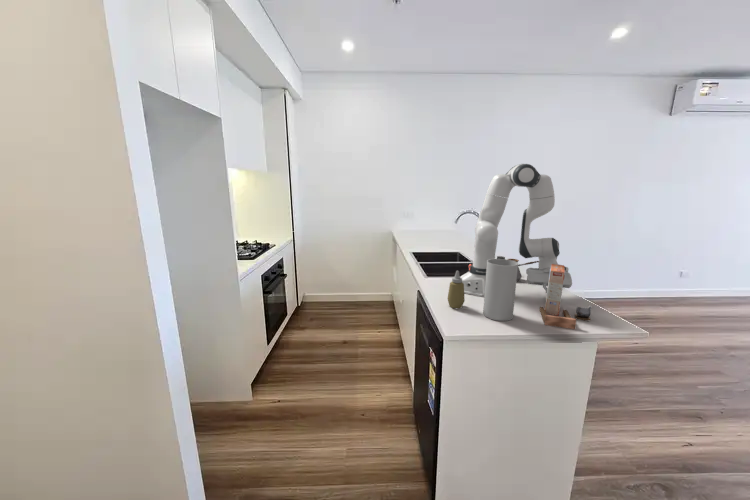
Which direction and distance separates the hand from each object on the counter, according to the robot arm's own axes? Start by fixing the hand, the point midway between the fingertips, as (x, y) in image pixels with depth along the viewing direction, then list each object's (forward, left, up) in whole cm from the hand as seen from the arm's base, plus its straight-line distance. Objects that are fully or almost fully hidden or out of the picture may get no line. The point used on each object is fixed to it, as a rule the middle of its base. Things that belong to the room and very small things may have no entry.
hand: (549, 293), depth 152 cm
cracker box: (0, -10, -5) cm, 12 cm away
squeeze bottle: (-43, -22, -5) cm, 49 cm away
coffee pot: (-11, +32, -5) cm, 34 cm away
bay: (0, -21, -5) cm, 22 cm away
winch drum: (+11, -16, -5) cm, 20 cm away
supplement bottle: (-22, +44, -5) cm, 49 cm away
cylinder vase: (-24, -26, -5) cm, 36 cm away
